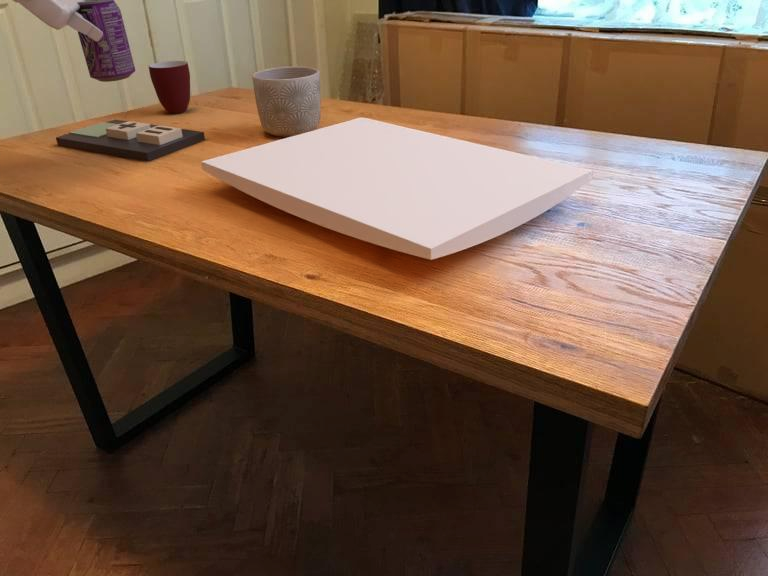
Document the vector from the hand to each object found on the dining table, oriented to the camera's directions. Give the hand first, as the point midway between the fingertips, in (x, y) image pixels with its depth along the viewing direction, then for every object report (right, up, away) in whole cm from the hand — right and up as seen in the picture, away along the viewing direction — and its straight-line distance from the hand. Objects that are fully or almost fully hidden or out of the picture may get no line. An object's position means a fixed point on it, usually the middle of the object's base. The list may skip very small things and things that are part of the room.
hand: (106, 33), depth 105 cm
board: (+45, -28, -11) cm, 54 cm away
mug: (-1, -2, +40) cm, 40 cm away
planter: (+27, -11, +21) cm, 36 cm away
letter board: (-3, -13, +18) cm, 23 cm away
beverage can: (0, -6, +3) cm, 7 cm away
